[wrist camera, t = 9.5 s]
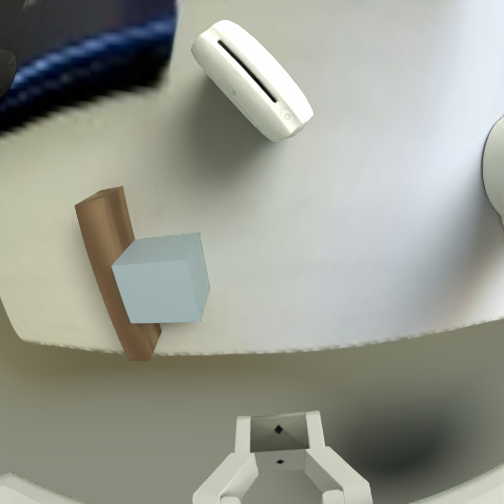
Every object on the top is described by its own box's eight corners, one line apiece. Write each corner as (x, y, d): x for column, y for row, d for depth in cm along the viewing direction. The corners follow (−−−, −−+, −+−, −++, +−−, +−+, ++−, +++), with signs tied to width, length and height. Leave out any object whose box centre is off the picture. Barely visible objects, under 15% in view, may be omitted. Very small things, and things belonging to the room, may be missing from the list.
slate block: (200, 232, 34) (186, 259, 28) (210, 286, 37) (200, 321, 31) (135, 239, 35) (111, 266, 28) (149, 290, 38) (130, 323, 31)
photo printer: (302, 116, 29) (330, 115, 17) (270, 142, 30) (277, 156, 19) (237, 43, 26) (224, 0, 14) (204, 68, 27) (171, 41, 15)
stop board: (122, 186, 32) (98, 200, 26) (161, 331, 40) (149, 360, 35) (100, 190, 32) (74, 205, 27) (142, 331, 40) (128, 360, 35)
